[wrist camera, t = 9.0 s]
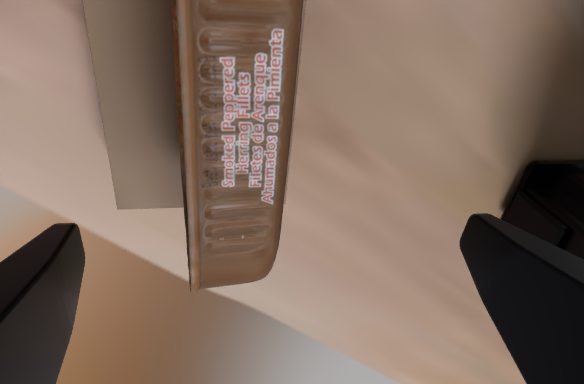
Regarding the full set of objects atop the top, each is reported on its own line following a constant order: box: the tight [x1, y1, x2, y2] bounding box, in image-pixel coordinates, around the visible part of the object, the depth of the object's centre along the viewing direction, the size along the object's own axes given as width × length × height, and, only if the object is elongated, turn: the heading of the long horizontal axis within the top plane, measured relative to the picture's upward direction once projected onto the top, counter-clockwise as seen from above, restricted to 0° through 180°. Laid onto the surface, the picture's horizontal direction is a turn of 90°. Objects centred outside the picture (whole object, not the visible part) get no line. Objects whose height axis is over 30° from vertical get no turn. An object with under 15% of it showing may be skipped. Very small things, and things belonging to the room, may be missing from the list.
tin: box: [171, 0, 303, 293], centre depth 13 cm, size 15×3×8 cm, turn 175°
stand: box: [82, 0, 306, 210], centre depth 17 cm, size 8×17×3 cm, turn 175°
